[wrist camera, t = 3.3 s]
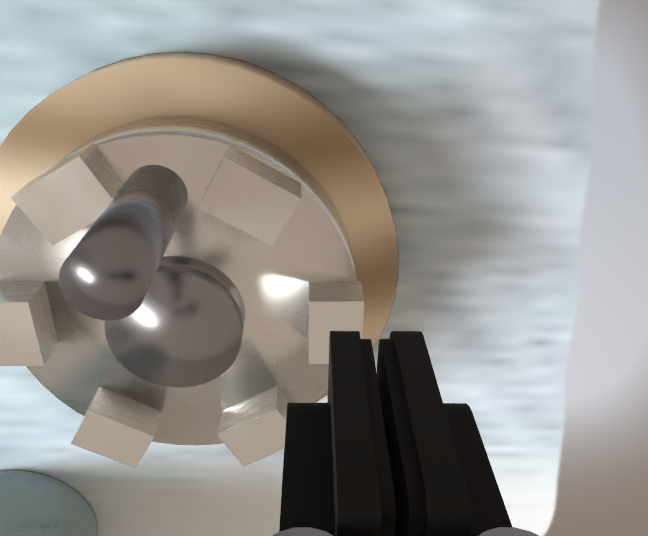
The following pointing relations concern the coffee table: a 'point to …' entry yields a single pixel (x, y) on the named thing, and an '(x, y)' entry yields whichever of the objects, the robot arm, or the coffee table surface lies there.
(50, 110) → the round tan disc base
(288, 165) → the disc with radial blocks
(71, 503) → the grey-green cup
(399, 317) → the coffee table surface
